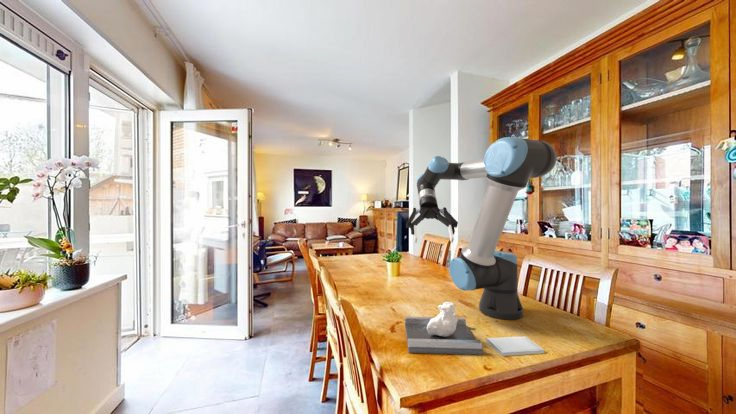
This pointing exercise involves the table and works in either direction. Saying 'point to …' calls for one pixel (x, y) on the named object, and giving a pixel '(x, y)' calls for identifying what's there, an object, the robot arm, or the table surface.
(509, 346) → the hard drive
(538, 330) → the table surface
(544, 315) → the table surface
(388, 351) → the table surface
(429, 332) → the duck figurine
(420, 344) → the rail plate
